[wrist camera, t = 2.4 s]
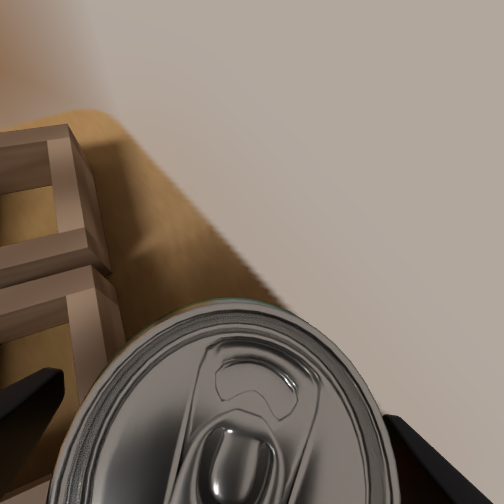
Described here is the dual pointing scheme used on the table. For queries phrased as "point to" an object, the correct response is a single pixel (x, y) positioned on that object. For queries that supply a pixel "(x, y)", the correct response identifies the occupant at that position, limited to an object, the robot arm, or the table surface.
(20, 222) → the table surface
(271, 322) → the soda can
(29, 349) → the table surface
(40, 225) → the table surface
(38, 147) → the socket block
